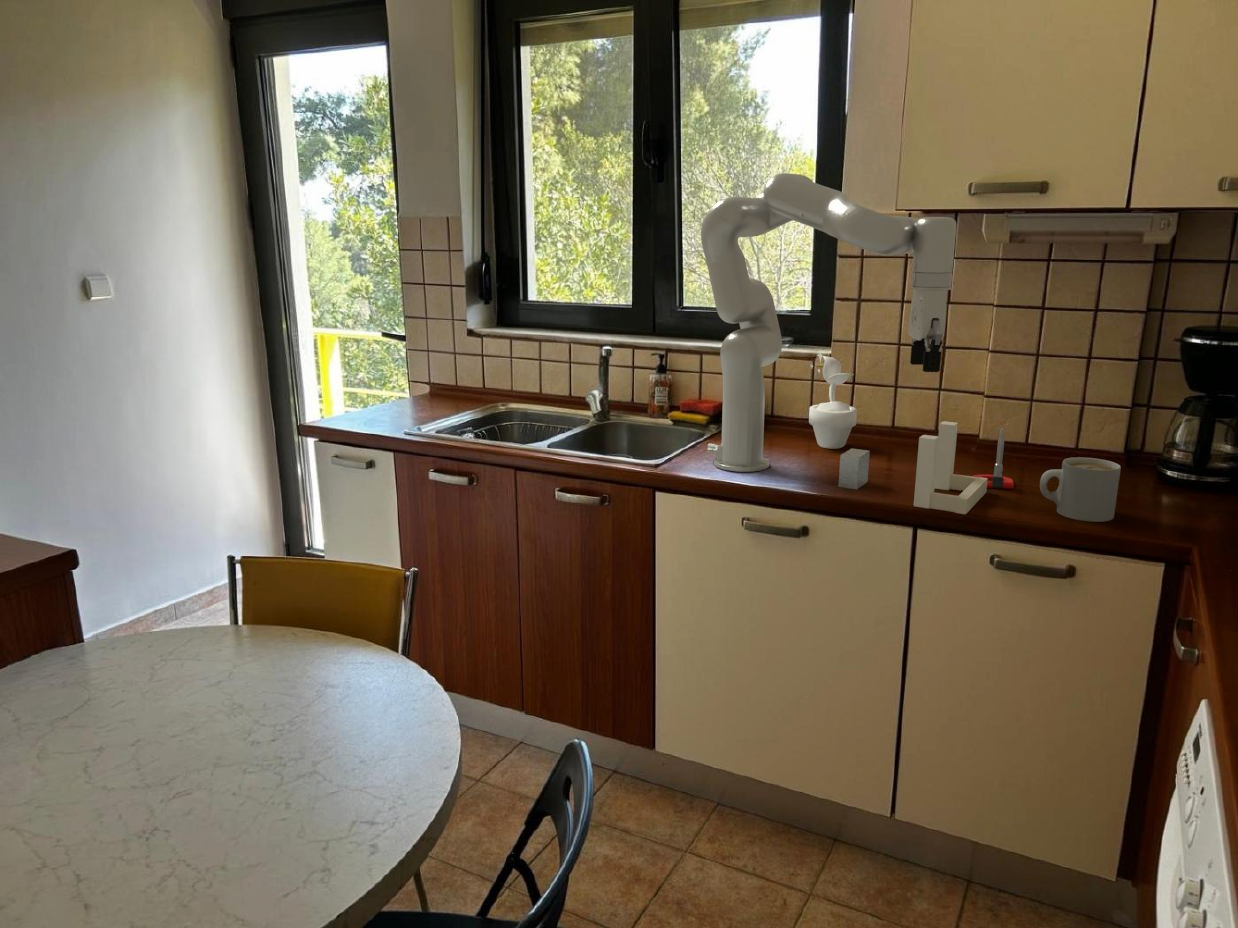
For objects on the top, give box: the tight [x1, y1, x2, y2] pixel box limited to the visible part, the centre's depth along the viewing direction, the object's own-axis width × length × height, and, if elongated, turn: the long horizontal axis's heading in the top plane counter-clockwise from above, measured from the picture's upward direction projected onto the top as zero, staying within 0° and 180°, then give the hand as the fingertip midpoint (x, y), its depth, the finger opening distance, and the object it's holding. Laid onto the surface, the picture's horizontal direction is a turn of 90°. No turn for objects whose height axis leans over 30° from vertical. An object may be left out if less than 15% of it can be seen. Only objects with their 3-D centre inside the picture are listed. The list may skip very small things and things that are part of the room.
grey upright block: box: [838, 448, 870, 490], centre depth 197 cm, size 4×7×7 cm, turn 147°
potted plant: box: [808, 348, 858, 450], centre depth 227 cm, size 13×12×25 cm
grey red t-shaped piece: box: [971, 428, 1015, 490], centre depth 197 cm, size 8×13×9 cm
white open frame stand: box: [913, 420, 989, 515], centre depth 185 cm, size 10×18×14 cm, turn 147°
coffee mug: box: [1039, 456, 1122, 523], centre depth 177 cm, size 13×10×10 cm
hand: (924, 368), depth 185 cm, fingers open, 9 cm apart
